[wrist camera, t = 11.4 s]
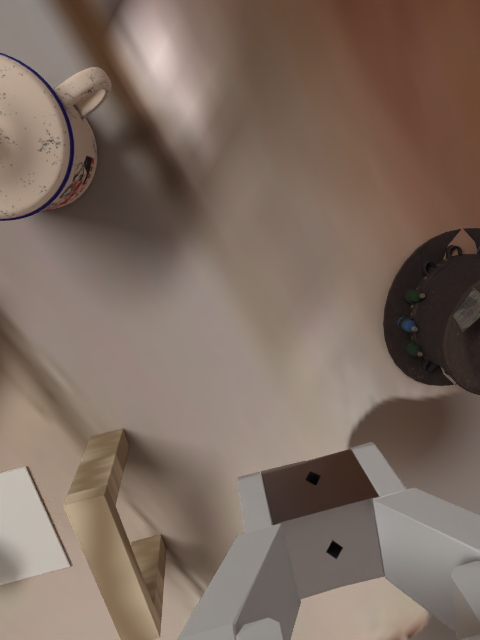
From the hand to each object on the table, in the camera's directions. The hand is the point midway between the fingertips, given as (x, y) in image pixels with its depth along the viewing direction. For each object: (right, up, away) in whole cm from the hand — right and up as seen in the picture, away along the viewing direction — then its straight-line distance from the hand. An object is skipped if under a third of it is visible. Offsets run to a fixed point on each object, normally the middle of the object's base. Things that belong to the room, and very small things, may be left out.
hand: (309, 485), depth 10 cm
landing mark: (-26, -17, +33) cm, 45 cm away
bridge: (-12, -13, +33) cm, 38 cm away
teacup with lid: (-15, +17, +24) cm, 33 cm away
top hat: (+19, +5, +32) cm, 37 cm away
